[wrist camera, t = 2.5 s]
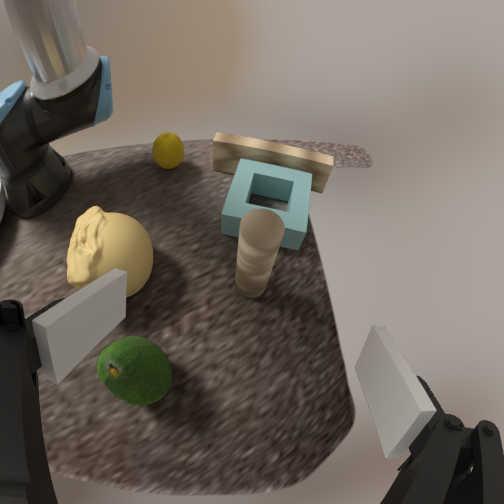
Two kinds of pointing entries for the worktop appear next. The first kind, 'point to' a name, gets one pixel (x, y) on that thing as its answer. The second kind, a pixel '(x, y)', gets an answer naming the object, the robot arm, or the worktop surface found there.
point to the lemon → (168, 150)
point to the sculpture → (109, 249)
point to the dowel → (257, 250)
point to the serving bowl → (2, 200)
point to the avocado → (135, 370)
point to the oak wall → (270, 157)
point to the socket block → (274, 186)
